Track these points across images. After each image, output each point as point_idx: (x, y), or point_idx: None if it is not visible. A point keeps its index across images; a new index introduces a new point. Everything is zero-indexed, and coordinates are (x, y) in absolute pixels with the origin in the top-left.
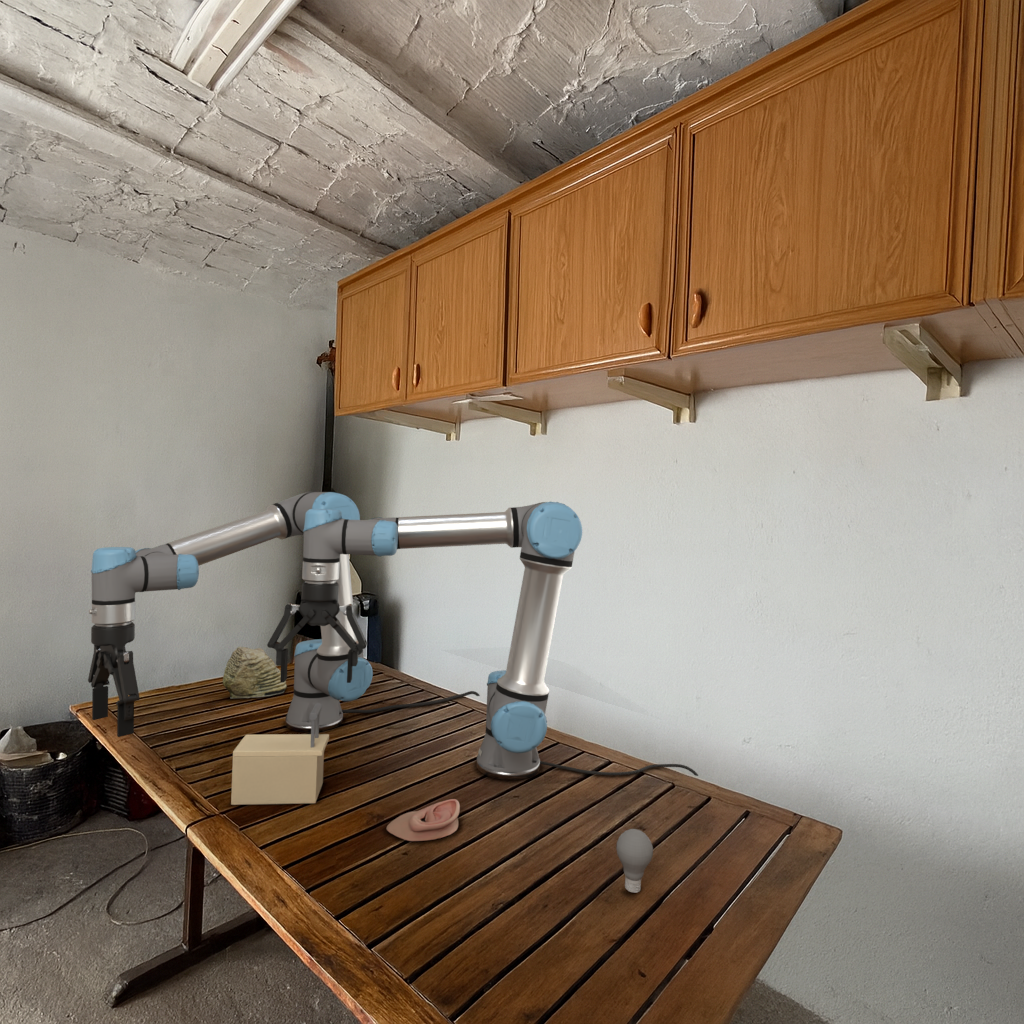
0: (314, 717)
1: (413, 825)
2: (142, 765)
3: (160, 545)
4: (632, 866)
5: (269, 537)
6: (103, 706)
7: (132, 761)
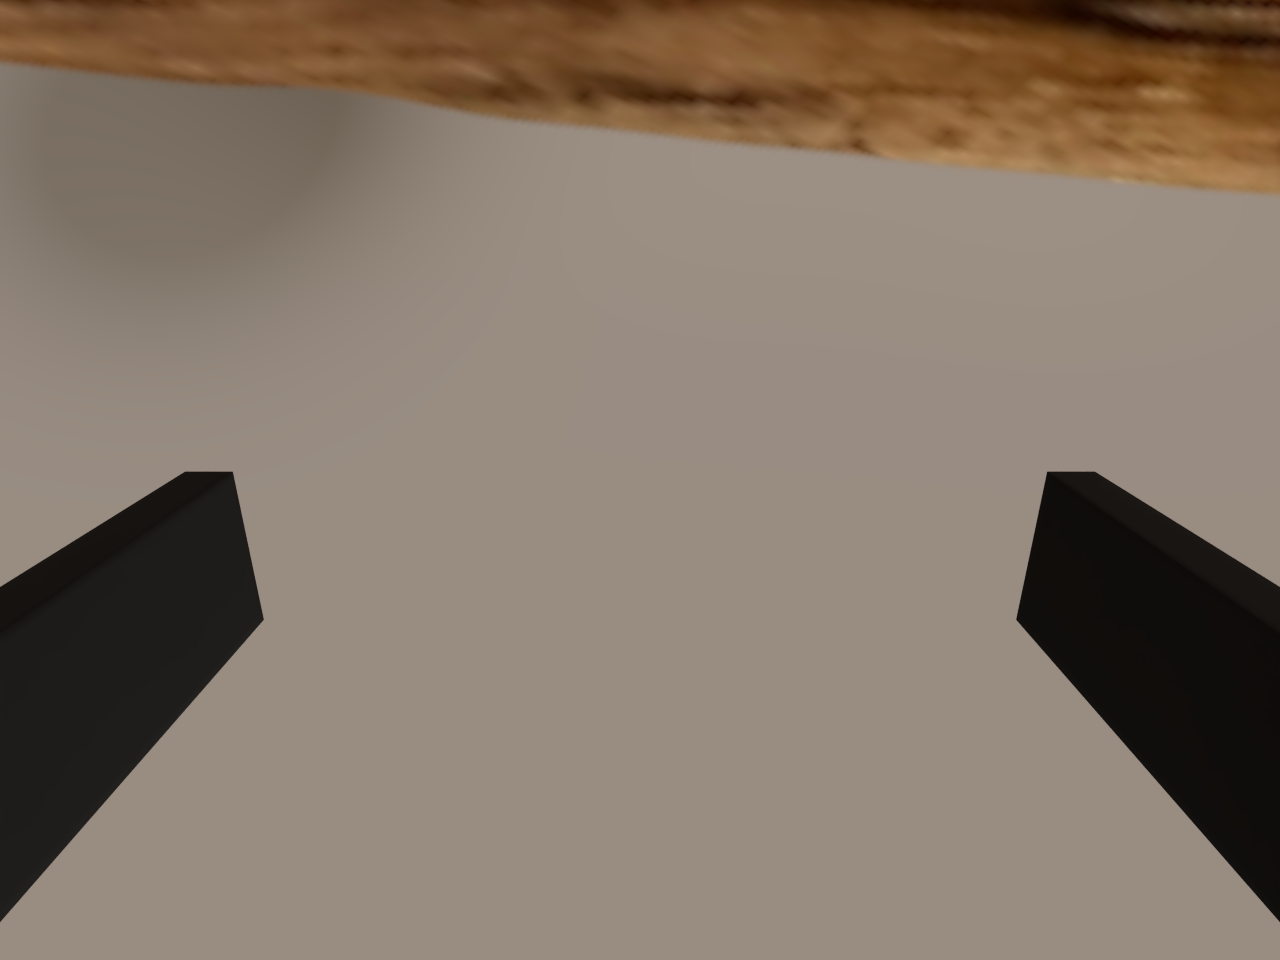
0: None
1: None
2: (261, 22)
3: None
4: None
5: None
6: (154, 600)
7: (138, 48)
